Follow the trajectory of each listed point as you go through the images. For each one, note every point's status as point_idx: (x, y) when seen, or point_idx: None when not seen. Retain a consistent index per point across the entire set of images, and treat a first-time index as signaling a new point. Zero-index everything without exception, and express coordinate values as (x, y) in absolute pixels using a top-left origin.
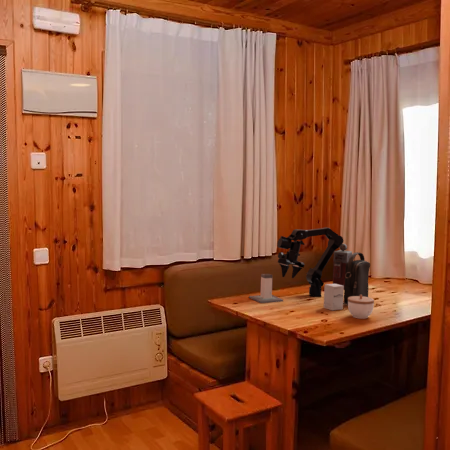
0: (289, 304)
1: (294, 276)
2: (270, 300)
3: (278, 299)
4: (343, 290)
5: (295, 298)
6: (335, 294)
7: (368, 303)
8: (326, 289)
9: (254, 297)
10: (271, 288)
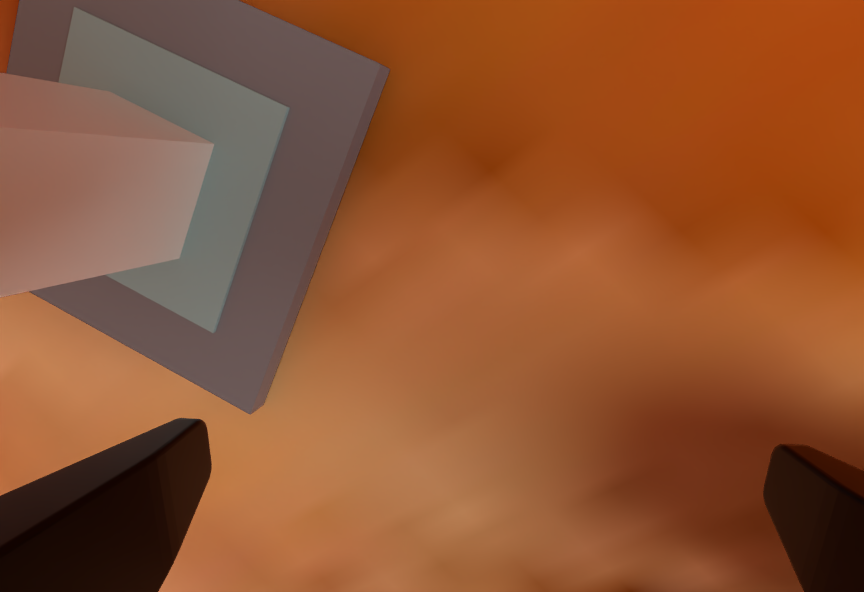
0: (207, 534)
1: (817, 581)
2: (91, 319)
3: (207, 363)
4: None
5: (548, 439)
6: None
7: None
8: None
9: (38, 42)
10: (44, 282)
